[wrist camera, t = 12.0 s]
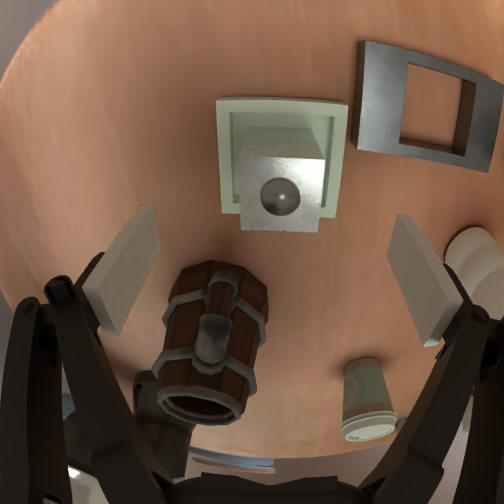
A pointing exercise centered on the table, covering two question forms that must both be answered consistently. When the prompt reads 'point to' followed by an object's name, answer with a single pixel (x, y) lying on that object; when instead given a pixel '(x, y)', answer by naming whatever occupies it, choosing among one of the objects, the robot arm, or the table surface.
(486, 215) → the table surface
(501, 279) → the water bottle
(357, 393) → the coffee cup
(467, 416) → the cup
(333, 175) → the parts tray
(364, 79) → the grey rectangular frame
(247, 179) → the block
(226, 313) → the mug
